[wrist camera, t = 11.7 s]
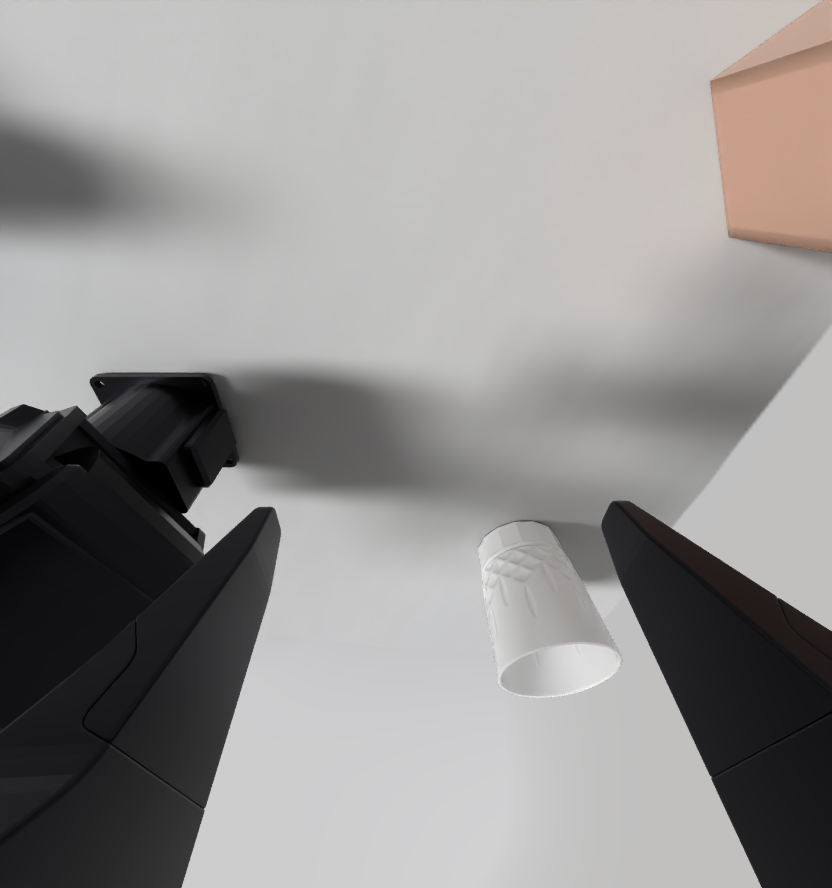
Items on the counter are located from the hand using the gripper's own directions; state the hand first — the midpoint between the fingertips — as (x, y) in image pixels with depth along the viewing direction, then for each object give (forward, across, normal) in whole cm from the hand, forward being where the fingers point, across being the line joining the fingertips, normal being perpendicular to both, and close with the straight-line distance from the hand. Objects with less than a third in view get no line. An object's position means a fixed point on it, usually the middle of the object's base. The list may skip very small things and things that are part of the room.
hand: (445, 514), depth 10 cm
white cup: (+13, -9, +18) cm, 24 cm away
